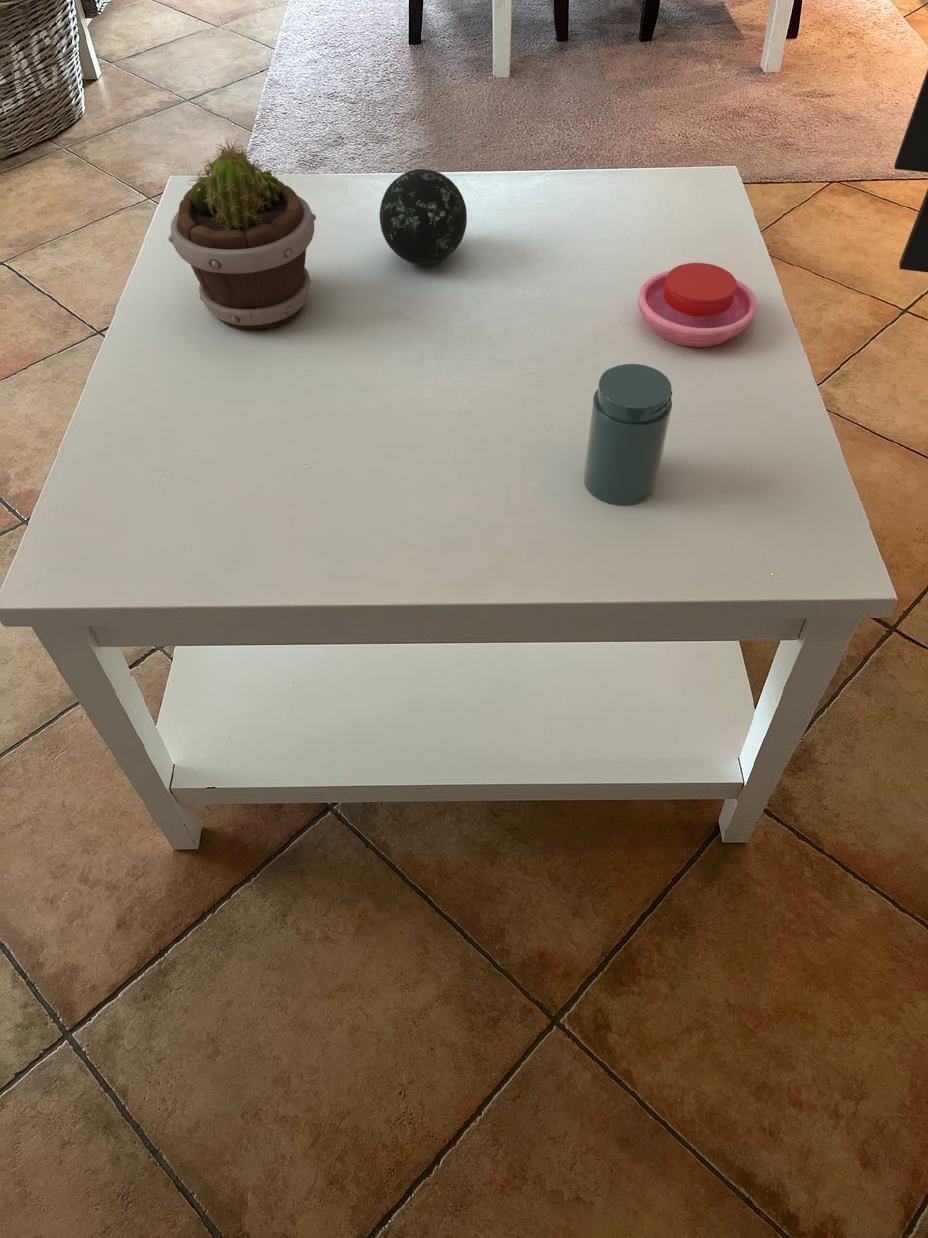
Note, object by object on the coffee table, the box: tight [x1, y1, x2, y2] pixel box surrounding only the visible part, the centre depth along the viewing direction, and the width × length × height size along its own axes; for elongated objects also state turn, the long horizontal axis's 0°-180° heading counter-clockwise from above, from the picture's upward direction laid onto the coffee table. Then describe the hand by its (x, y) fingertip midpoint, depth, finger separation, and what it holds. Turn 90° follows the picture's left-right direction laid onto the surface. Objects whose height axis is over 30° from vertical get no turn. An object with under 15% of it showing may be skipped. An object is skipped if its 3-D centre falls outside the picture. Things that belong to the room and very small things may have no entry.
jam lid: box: [664, 262, 737, 317], centre depth 96 cm, size 7×7×2 cm
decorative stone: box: [379, 168, 468, 266], centre depth 105 cm, size 10×10×10 cm
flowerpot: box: [168, 137, 317, 331], centre depth 95 cm, size 14×15×20 cm
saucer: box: [637, 269, 758, 348], centre depth 98 cm, size 12×12×3 cm
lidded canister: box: [583, 363, 673, 506], centre depth 80 cm, size 7×7×11 cm
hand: (917, 215), depth 61 cm, fingers open, 13 cm apart
